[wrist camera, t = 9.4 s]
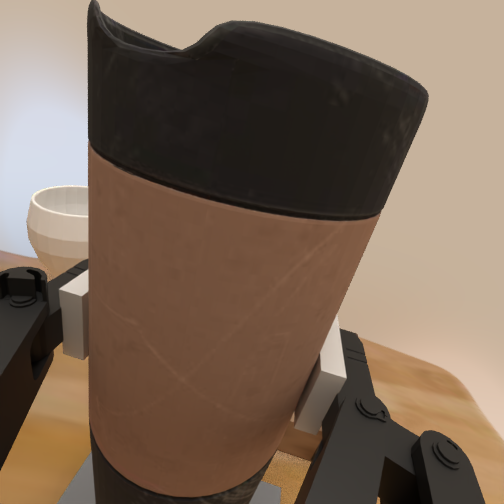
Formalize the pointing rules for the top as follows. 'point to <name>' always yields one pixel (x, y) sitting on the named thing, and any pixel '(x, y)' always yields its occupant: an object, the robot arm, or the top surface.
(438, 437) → the robot arm
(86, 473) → the charcoal mat
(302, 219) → the travel mug
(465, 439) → the top surface
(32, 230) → the cup
